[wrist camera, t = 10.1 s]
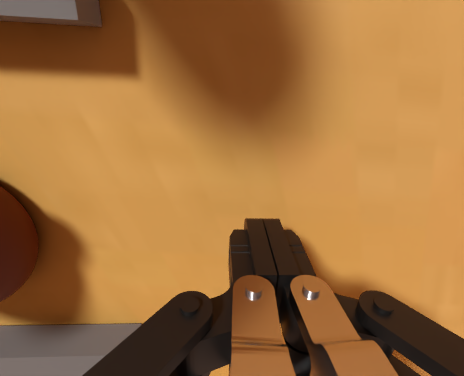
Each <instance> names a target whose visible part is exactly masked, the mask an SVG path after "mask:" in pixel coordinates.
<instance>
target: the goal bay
mask: <svg viewBox="0 0 464 376" xmlns="http://www.w3.org/2000/svg"><path fill="white" fill-rule="evenodd" d="M0 21H12V22H28V23H45V24H62V25H78V26H95V27H102V22H101V14H100V6H99V0H0ZM141 325H142V324H80V325H18V326H0V376H82V375H83V374H85V373H86V372H87V371H88V370H89V369H90V368H92V367H93V366H94V365H95V364H96V363H98V362H99V361H100V360H101V359H102V358H103V357H105V356H106V355H107V354H108V353H109V352H110V351H112V350H113V349H114V348H115V347H116V346H117V345H119V344H120V343H121V342H122V341H123V340H125V339H126V338H127V337H128V336H129V335H130V334H132V333H133V332H134V331H135V330H136V329H137V328H139V327H140V326H141Z"/></svg>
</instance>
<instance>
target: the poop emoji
mask: <svg viewBox="0 0 464 376" xmlns="http://www.w3.org/2000/svg"><path fill="white" fill-rule="evenodd" d="M38 249H39V244H38V236H37V232H36V229H35V226H34V224H33V221H32V219H31V218H30V216H29V214H28V213H27V211H26V210H25V209H24V207H23V206H22V205H21V204H20V203H19V202H18V201H17V200H16V199H15V198H14V197H13V196H12V195H11V194H10V193H9V192H7V191H6V190H5V189H3V188H2V187H1V186H0V302H1V301H2V300H4V299H6V298H7V297H9V296H10V295H12V294H13V293H14V292H16V291H17V290H18V289H19V288H20V287H21V286H22V285H23V284H24V283H25V281H26V280H27V279H28V278H29V276H30V275H31V273H32V271H33V269H34V267H35V264H36V261H37V257H38Z"/></svg>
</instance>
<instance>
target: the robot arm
mask: <svg viewBox="0 0 464 376" xmlns="http://www.w3.org/2000/svg"><path fill="white" fill-rule="evenodd" d="M229 280H230V288H229V290H228V291H226V292H225V293H224V294H222V295H220V296H217V297H214V298H211V299H209V298H208V296H206V295H205V294H203V293H201V292H197V291H187V292H183V293H180V294H178V295H177V296H175V297H174V298H173V299H171V300H170V301H169V302H168V303H167V304H166V305H164V306H163V307H162V308H161V309H160V310H159V311H157V312H156V313H155V314H154V315H153V316H151V317H150V318H149V319H148V320H147V321H146V322H144V323H143V324H142V325H141V326H140V327H139V328H137V329H136V330H135V331H134V332H133V333H132V334H130V335H129V336H128V337H127V338H126V339H125V340H123V341H122V342H121V343H120V344H119V345H117V346H116V347H115V348H114V349H113V350H112V351H110V352H109V353H108V354H107V355H106V356H105V357H103V358H102V359H101V360H100V361H99V362H98V363H96V364H95V365H94V366H93V367H92V368H90V369H89V370H88V371H87V372H86V373H85V374H83V375H82V376H209V374H210V372H211V371H213V370H215V369H218V368H220V367H223V366H225V365H228V364H229V376H421V375H419V374H418V373H416V372H415V371H414V370H412V369H411V368H409V367H408V366H407V365H405V364H404V363H403V362H401V361H400V360H398V359H397V358H396V357H394V356H393V355H392V353H393V351H394V349H395V350H396V351H398V352H399V353H401V354H402V355H403V356H405V357H406V358H408V359H409V360H410V361H412V362H413V363H415V364H416V365H417V366H419V367H420V368H422V369H423V370H425V371H426V372H427V373H429V374H430V375H432V376H464V339H463V338H461V337H459V336H458V335H456V334H454V333H453V332H451V331H449V330H448V329H446V328H444V327H442V326H441V325H439V324H437V323H436V322H434V321H432V320H431V319H429V318H427V317H425V316H424V315H422V314H420V313H419V312H417V311H415V310H414V309H412V308H410V307H409V306H407V305H405V304H403V303H402V302H400V301H398V300H397V299H395V298H393V297H392V296H390V295H388V294H385V293H383V292H379V291H365V292H363V293H362V294H361V295H360V298H359V300H357V299H353V298H349V297H345V296H341V295H338V294H336V293H333V291H332V290H331V288H330V286H329V285H328V284H327V283H326V282H325V281H323V280H322V279H320V278H318V277H317V276H316V274H315V272H314V270H313V267H312V265H311V263H310V261H309V259H308V256H307V254H306V253H305V250H304V248H303V247H302V243H301V241H300V239H299V237H298V236H297V235H296V234H295V233H294V232H293V231H291V230H283V227H282V225H281V222H280V220H279V219H245V223H244V230H233V232H232V234H231V235H230V242H229ZM280 323H281V327H282V336H281V329H280Z"/></svg>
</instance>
